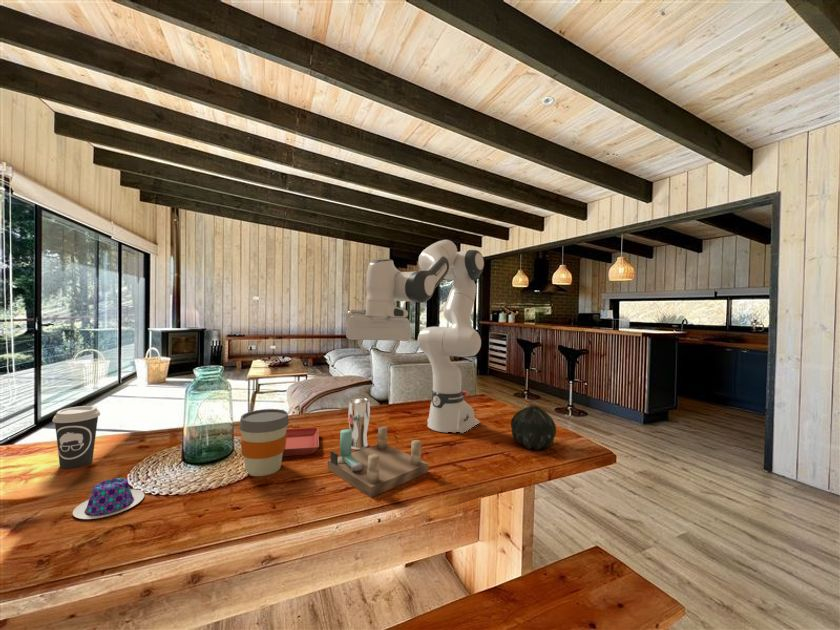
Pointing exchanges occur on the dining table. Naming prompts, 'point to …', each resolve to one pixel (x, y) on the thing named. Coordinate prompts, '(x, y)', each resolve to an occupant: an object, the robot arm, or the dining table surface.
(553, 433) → the squash
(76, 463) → the coffee cup
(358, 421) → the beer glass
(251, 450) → the reusable coffee cup
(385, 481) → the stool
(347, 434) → the folding leg
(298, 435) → the plant saucer
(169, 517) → the dining table surface
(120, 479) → the purple patterned hat
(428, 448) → the dining table surface
